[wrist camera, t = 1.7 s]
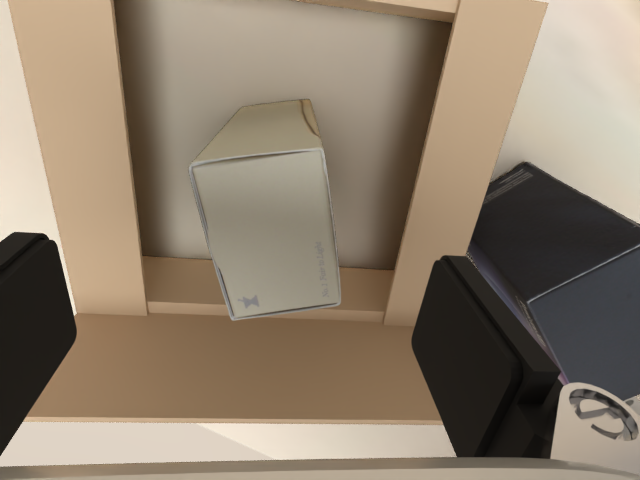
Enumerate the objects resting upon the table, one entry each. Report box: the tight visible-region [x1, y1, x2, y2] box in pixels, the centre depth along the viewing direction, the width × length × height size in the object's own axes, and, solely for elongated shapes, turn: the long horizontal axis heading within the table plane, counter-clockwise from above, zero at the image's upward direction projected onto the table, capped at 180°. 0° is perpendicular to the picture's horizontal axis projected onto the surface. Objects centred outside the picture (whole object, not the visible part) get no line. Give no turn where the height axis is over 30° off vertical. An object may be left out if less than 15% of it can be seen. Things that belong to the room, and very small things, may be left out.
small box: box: [467, 162, 640, 401], centre depth 23 cm, size 11×6×10 cm, turn 34°
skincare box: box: [188, 99, 341, 321], centre depth 18 cm, size 6×4×12 cm
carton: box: [8, 0, 548, 425], centre depth 18 cm, size 22×18×12 cm
